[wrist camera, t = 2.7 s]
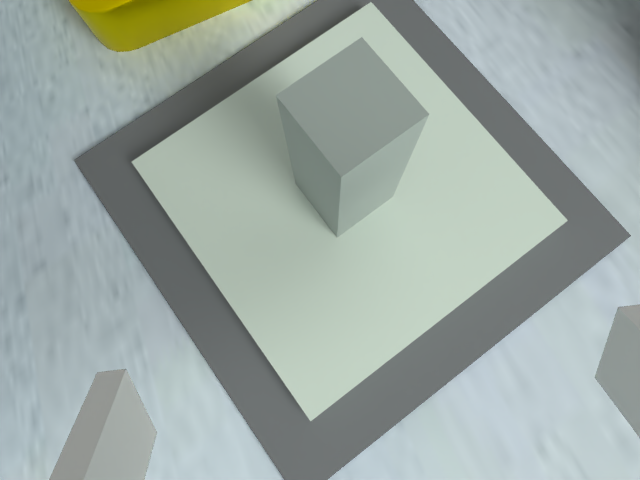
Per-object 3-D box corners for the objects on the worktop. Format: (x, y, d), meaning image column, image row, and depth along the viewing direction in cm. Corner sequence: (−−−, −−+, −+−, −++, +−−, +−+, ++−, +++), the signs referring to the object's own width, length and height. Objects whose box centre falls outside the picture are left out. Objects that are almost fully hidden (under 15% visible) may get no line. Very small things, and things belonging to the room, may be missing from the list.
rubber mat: (376, -34, 31) (377, -39, 31) (626, 237, 27) (630, 235, 26) (77, 162, 28) (74, 160, 28) (299, 499, 24) (299, 501, 24)
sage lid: (369, 14, 30) (391, -168, 19) (557, 225, 26) (712, 149, 16) (139, 169, 28) (19, 63, 17) (311, 417, 25) (297, 479, 14)
